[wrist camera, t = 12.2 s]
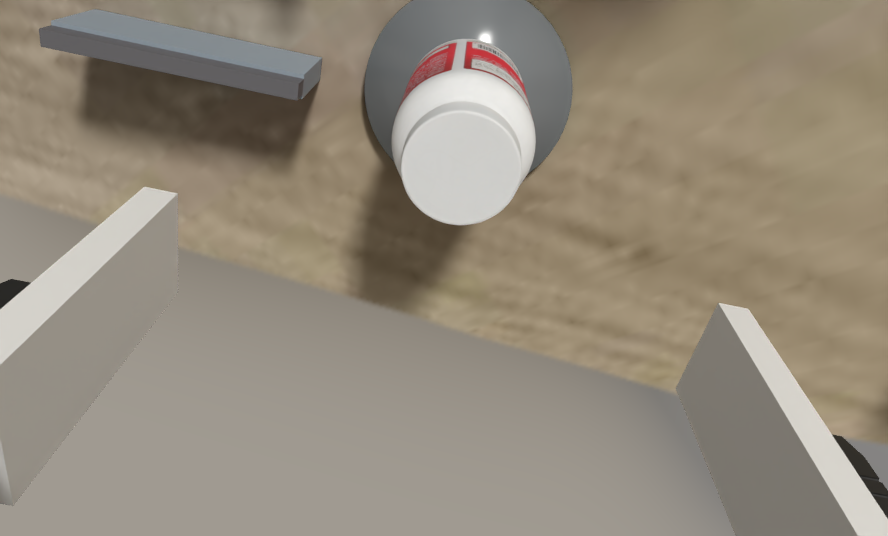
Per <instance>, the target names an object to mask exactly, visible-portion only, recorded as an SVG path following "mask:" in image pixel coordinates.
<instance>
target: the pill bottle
mask: <svg viewBox="0 0 888 536" xmlns="http://www.w3.org/2000/svg"><path fill="white" fill-rule="evenodd" d="M391 141H392V153H393V158H394V162H395V165H396V168H397V170H398V172H399V174H400V176H401V178H402V182H403V185H404V188H405V190H406V192H407V194H408V196H409V198H410V199H411V201H412V202H413V203H414V204H415V205H416V207H417V208H418V209H420V210H421V211H422V212H423V213H424V214H426V215H427V216H429V217H431V218H433V219H435V220H437V221H440V222H443V223H446V224H451V225H471V224H476V223H479V222H482V221H485V220H487V219H489V218H491V217H493V216H495V215H496V214H498V213H499V212H500V211H502V210H503V209H504V208H505V207H506V206H507V205H508V203H509V202H510V201H511V200H512V198H513V197H514V195H515V193H516V191H517V189H518V187H519V186H520V185H521V183H522V182H523V180H524V179H525V177H526V176H527V174H528V172H529V170H530V167H531V165H532V162H533V158H534V154H535V146H536V136H535V126H534V122H533V118H532V114H531V111H530V106H529V103H528V99H527V95H526V91H525V88H524V84H523V81H522V78H521V75H520V73H519V71H518V69H517V67H516V66H515V64H514V63H513V61H512V60H511V59H510V58H509V57H508V56H507V55H506V54H505V53H504V52H503V51H502V50H500V49H499V48H497V47H496V46H494V45H492V44H490V43H487V42H484V41H481V40H476V39H456V40H452V41H448V42H446V43H443V44H441V45H439V46H437V47H435V48H434V49H432V50H431V51H430V52H429V53H427V54H426V55H425V56H424V57H423V58H422V59H421V61H420V62H419V63H418V65H417V66H416V68H415V70H414V71H413V73H412V75H411V77H410V80H409V82H408V85H407V88H406V90H405V93H404V96H403V98H402V101H401V104H400V106H399V109H398V112H397V114H396V117H395V121H394V125H393V129H392V139H391Z"/></svg>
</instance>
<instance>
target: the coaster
mask: <svg viewBox="0 0 888 536" xmlns="http://www.w3.org/2000/svg"><path fill="white" fill-rule="evenodd" d="M456 39H476V40H481V41H484V42H487V43H490V44H492V45H494V46H496V47H497V48H499V49H500V50H502V51H503V52H504V53H505V54H506V55H507V56H508V57H509V58H510V59H511V60H512V61H513V63H514V64H515V66H516V67H517V69H518V71H519V73H520V75H521V78H522V81H523V84H524V88H525V91H526V95H527V99H528V103H529V106H530V111H531V114H532V118H533V122H534V126H535V136H536V146H535V154H534V158H533V162H532V165H531V167H530V170H529V172H528V173H530V172H531V171H532V170H533V169H535V168H536V167H537V166H538V165H539V164H540V163H541V162H542V161H543V160H544V159H545V158H546V157H547V156H548V155H549V154H550V152H551V151H552V149H553V148H554V146H555V145H556V144H557V142H558V140H559V138H560V136H561V134H562V132H563V130H564V128H565V125H566V122H567V120H568V116H569V112H570V107H571V101H572V75H571V69H570V63H569V60H568V57H567V54H566V50H565V48H564V46H563V44H562V42H561V40H560V37H559V36H558V34H557V33H556V31H555V29H554V28H553V26H552V25H551V23H550V22H549V21H548V20H547V18H546V17H545V16H544V15H543V14H542V13H541V12H540V11H539V10H538V9H537V8H536V7H535V6H533V5H532V4H531V3H530V2H528V1H527V0H412V1H410V2H409V3H407V4H406V5H405V6H404V7H403V8H401V9H400V10H399V11H398V12H397V13H396V14H395V15H394V17H393V18H392V19H391V20H390V21H389V22H388V23H387V25H386V26H385V28H384V29H383V31H382V32H381V34H380V35H379V37H378V39H377V41H376V43H375V45H374V47H373V49H372V52H371V55H370V58H369V61H368V65H367V70H366V75H365V103H366V108H367V113H368V117H369V120H370V123H371V126H372V129H373V131H374V133H375V135H376V137H377V140H378V141H379V143H380V144H381V146H382V147H383V149H384V150H385V152H386V153H387V154H388V155H389V157H390V158H391V159H392V160H393V161H394V158H393V153H392V141H391V139H392V129H393V125H394V121H395V117H396V114H397V112H398V109H399V106H400V104H401V101H402V98H403V96H404V93H405V90H406V88H407V85H408V82H409V80H410V77H411V75H412V73H413V71H414V70H415V68H416V66H417V65H418V63H419V62H420V61H421V59H422V58H423V57H424V56H425V55H426V54H427V53H429V52H430V51H431V50H432V49H434V48H435V47H437V46H439V45H441V44H443V43H446V42H448V41H452V40H456Z"/></svg>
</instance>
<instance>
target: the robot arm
mask: <svg viewBox="0 0 888 536" xmlns="http://www.w3.org/2000/svg"><path fill="white" fill-rule="evenodd" d="M177 293H178V193H173V192H168V191H163V190H158V189H153V188H148V187H144V188H142V189H141V190H140V191H139V192H138V193H137V194H135V195H134V196H133V197H132V198H131V199H129V200H128V201H127V202H126V203H125V204H124V205H122V206H121V207H120V208H119V209H118V210H117V211H115V212H114V213H113V214H112V215H111V216H109V217H108V218H107V219H106V220H105V221H104V222H102V223H101V224H100V225H99V226H98V227H97V228H95V229H94V230H93V231H92V232H91V233H90V234H88V235H87V236H86V237H85V238H84V239H82V240H81V241H80V242H79V243H78V244H77V245H76V246H74V247H73V248H72V249H71V250H69V251H68V252H67V253H66V254H65V255H64V256H62V257H61V258H60V259H59V260H58V261H57V262H55V263H54V264H53V265H52V266H51V267H49V268H48V269H47V270H46V271H45V272H44V273H43V274H41V275H40V276H39V277H38V278H37V279H35V280H34V281H33V282H32V283H29V282H24V281H19V280H14V279H10V280H8V281H6V282H3V283H1V284H0V504H6V505H12V506H13V505H14V504H15V503H16V502H17V500H18V499H19V498H20V496H21V495H22V494H23V493H24V491H25V490H26V489H27V487H28V486H29V485H30V484H31V482H32V481H33V479H34V478H35V477H36V476H37V474H38V473H39V472H40V471H41V469H42V468H43V467H44V465H45V464H46V463H47V462H48V460H49V459H50V458H51V456H52V455H53V454H54V452H55V451H56V450H57V449H58V447H59V446H60V445H61V443H62V442H63V441H64V439H65V438H66V437H67V435H68V434H69V433H70V431H71V430H72V429H73V428H74V426H75V425H76V424H77V423H78V421H79V420H80V419H81V417H82V416H83V415H84V413H85V412H86V411H87V410H88V408H89V407H90V406H91V404H92V403H93V402H94V401H95V399H96V398H97V397H98V395H99V394H100V393H101V391H102V390H103V389H104V388H105V386H106V385H107V384H108V382H109V381H110V380H111V379H112V377H113V376H114V374H115V373H116V372H117V371H118V369H119V368H120V367H121V366H122V364H123V363H124V362H125V360H126V359H127V358H128V356H129V355H130V354H131V353H132V351H133V350H134V349H135V347H136V346H137V345H138V344H139V342H140V341H141V340H142V338H143V337H144V336H145V335H146V333H147V332H148V331H149V329H150V328H151V327H152V325H153V324H154V323H155V322H156V320H157V319H158V318H159V316H160V315H161V314H162V312H163V311H164V310H165V308H166V307H167V306H168V305H169V303H170V302H171V301H172V299H173V298H174V297H175V295H176V294H177ZM676 390H677V393H678V395H679V398H680V400H681V403H682V405H683V407H684V410H685V412H686V415H687V417H688V420H689V422H690V424H691V427H692V430H693V432H694V434H695V437H696V439H697V442H698V444H699V447H700V449H701V452H702V454H703V456H704V459H705V462H706V463H707V467H708V469H709V471H710V474H711V476H712V479H713V481H714V484H715V486H716V489H717V491H718V494H719V496H720V499H721V501H722V503H723V506H724V508H725V511H726V513H727V516H728V518H729V521H730V523H731V526H732V528H733V531H734V533H735V535H736V536H888V491H887V489H886V488H885V487H884V485H883V483H881V482H879V478H878V476H877V475H876V473H875V472H874V470H873V469H872V468H871V466H870V465H869V463H868V462H867V460H866V459H865V458H864V456H863V455H861V454H860V453H859V452H858V451H857V450H856V449H855V448H854V447H853V446H852V445H851V444H849V443H848V442H847V441H846V440H845V439H844V438H843V437H842V436H836V435H832V434H831V433H830V431H829V430H828V428H827V427H826V425H825V424H824V422H823V421H822V419H821V418H820V416H819V415H818V413H817V412H816V410H815V409H814V407H813V406H812V404H811V403H810V401H809V400H808V398H807V397H806V395H805V394H804V392H803V391H802V389H801V388H800V386H799V385H798V383H797V382H796V380H795V379H794V377H793V376H792V374H791V373H790V371H789V369H788V368H787V366H786V365H785V363H784V362H783V360H782V359H781V357H780V356H779V354H778V353H777V351H776V350H775V348H774V347H773V345H772V344H771V342H770V341H769V339H768V338H767V336H766V335H765V333H764V332H763V330H762V329H761V327H760V326H759V324H758V323H757V321H756V320H755V318H754V317H753V315H752V314H751V312H750V311H749V309H746V308H741V307H737V306H732V305H727V304H722V303H718V304H717V306H716V308H715V310H714V313H713V315H712V317H711V319H710V321H709V323H708V325H707V327H706V329H705V331H704V333H703V335H702V337H701V339H700V341H699V343H698V345H697V347H696V349H695V351H694V353H693V355H692V357H691V359H690V361H689V363H688V365H687V367H686V369H685V371H684V373H683V375H682V377H681V379H680V381H679V383H678V385H677V387H676Z"/></svg>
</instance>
